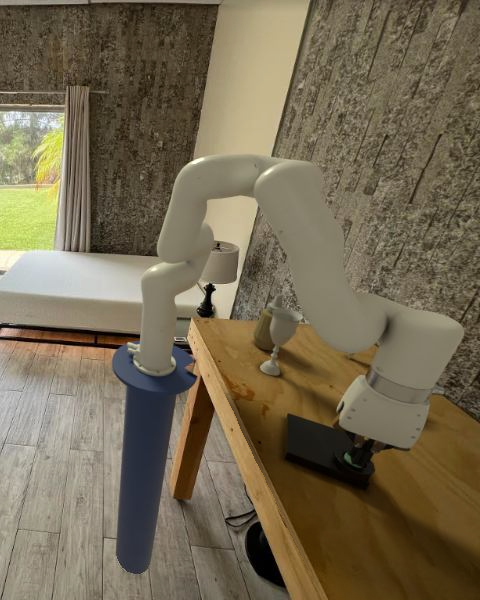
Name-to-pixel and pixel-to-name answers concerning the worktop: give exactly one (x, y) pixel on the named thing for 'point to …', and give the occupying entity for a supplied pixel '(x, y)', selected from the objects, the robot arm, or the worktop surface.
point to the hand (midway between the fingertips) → (355, 459)
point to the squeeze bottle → (266, 325)
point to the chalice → (280, 335)
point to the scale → (323, 451)
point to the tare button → (348, 459)
